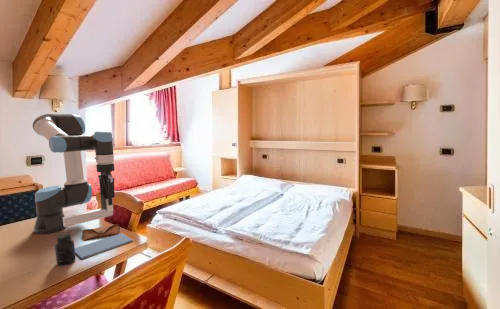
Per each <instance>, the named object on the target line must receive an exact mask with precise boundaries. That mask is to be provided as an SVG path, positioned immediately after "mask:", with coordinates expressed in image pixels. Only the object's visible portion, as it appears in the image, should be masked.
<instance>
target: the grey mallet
mask: <svg viewBox="0 0 500 309" xmlns="http://www.w3.org/2000/svg"><path fill="white" fill-rule="evenodd" d="M105 198H107V195H106V193H104V194H100V203H101V205H100V206H101V208H98V209H94V210H93V209H92V210H88V211H84V212H80V213H75V214H72V215H67V216H65V217H63V226H64V227H66V228H67V227H72V226H75V225H79V224H83V223H88V222H92V221H95V220H99V219H103V218H107V217H112V216H114V210H113V211H110V212H107V206H106V199H105Z"/></svg>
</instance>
